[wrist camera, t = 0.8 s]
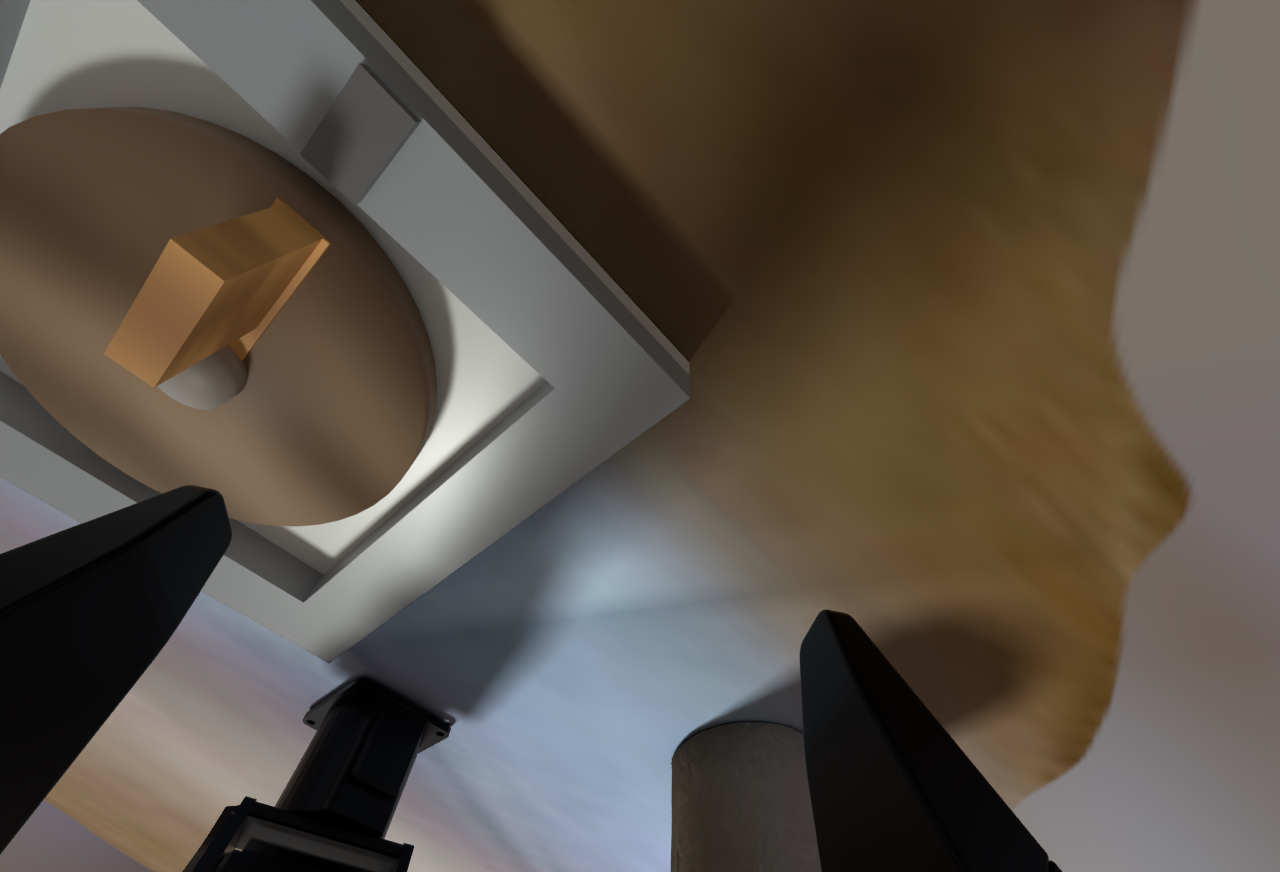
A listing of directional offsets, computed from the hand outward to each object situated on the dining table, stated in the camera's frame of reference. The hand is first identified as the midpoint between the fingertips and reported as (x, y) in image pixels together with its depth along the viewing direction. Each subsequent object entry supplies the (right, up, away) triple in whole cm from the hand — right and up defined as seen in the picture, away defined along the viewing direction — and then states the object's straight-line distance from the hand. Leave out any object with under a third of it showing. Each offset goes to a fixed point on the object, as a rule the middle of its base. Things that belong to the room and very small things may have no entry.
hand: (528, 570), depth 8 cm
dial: (-12, +5, +10) cm, 17 cm away
